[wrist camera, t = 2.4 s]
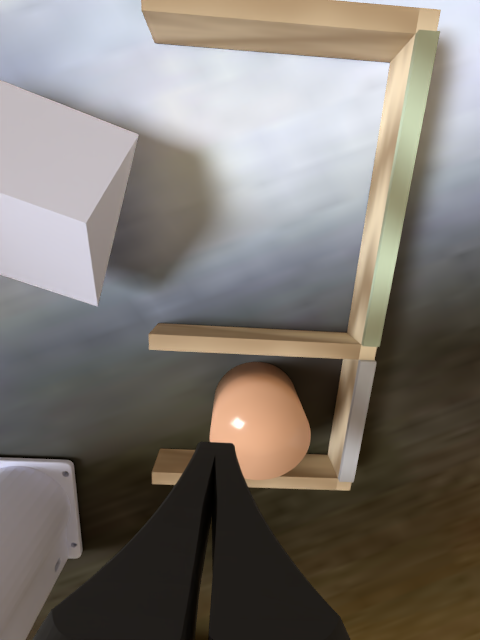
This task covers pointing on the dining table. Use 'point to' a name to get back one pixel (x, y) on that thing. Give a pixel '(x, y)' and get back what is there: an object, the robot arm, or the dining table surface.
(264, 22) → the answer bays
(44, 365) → the dining table surface
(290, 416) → the tan smooth rounded piece
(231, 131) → the dining table surface
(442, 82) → the dining table surface
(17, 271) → the wedge on round base
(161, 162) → the dining table surface
